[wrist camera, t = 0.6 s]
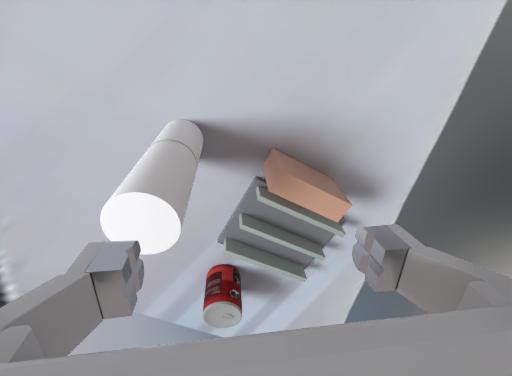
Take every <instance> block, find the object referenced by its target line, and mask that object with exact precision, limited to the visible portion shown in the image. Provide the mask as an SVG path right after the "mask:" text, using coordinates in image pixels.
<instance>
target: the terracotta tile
mask: <svg viewBox="0 0 512 376" xmlns="http://www.w3.org/2000/svg"><path fill="white" fill-rule="evenodd" d="M262 167H263V171H264V175H265V179H266V183H267V187H268V190H269V192H271V193H274V194H276V195H278V196H280V197H282V198H285V199H287V200H289V201H291V202H293V203H296V204H298V205H300V206H302V207H304V208H307V209H309V210H311V211H313V212H315V213H318V214H320V215H322V216H324V217H326V218H329V219H331V220H333V221H335V222H337V223H338V222H339V220H340V219H341V218H342V217H343V216H344V214H345V213H346V212H347V211H348V209H349V208H350V207H351V206H352V204H351V203H350V202H349V200H348V199H347V198H346V196H345V195H344V194H343V192H342V191H341V190H340V188H339V187H338V186H337V184H336V183H335V182H334V180H333V179H332V178H330V177H328V176H326V175H324V174H322V173H320V172H318V171H316V170H314V169H313V168H311V167H309V166H307V165H305V164H303V163H301V162H299V161H297V160H295V159H293V158H291V157H289V156H287V155H285V154H283V153H281V152H279V151H278V150H276V149H274V148H273V149H272V150H271V152H270V153H269V155H268V157H267V158H266V160H265V162H264V163H263V165H262Z"/></svg>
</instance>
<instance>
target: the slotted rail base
mask: <svg viewBox="0 0 512 376" xmlns="http://www.w3.org/2000/svg"><path fill="white" fill-rule="evenodd" d="M344 221H345V219H344V218H343V217H342V218H341V219H340V220H339V222H338V223H337V222H335V221H333V220H331V219H329V218H326V217H324V216H322V215H320V214H318V213H315V212H313V211H311V210H309V209H307V208H304V207H302V206H300V205H298V204H296V203H293V202H291V201H289V200H287V199H285V198H282V197H280V196H278V195H276V194H274V193H271V192H269V190H268V187H267V183H266V181H265V180H262V179H260V178H258V177H255V178H254V180H253V182H252V183H251V185H250V187H249V188H248V190H247V192H246V193H245V195H244V196H243V198H242V200H241V201H240V203H239V205H238V206H237V208H236V210H235V211H234V213H233V215H232V216H231V218H230V220H229V221H228V223H227V225H226V226H225V228H224V229H223V231H222V233H221V234H220V236H219V238H218V243H221V244H224V254H226V255H229V256H232V257H235V258H238V259H240V260H243V261H246V262H249V263H252V264H255V265H258V266H261V267H263V268H266V269H269V270H272V271H275V272H278V273H281V274H284V275H286V276H289V277H292V278H295V279H298V280H301V281H304V282H305V281H306V279H307V278H306V275H305V272H304V269H305V268H306V266H307V265H308V264H309V263H310V262H311V260H312V259H313V258H314V257H315V258H317V259H320V260H322V261H323V260H324V258H325V255H324V253H323V251H322V249H321V248H322V247H323V246H324V245H325V244H326V242H327V241H328V240H329V239H330V238H331V236H332V235H333V234H336V235H339V236H341V237H343V236H344V235H345V234H346V233H345V232H344V230H343V228H342V227H341V224H342V223H343V222H344Z"/></svg>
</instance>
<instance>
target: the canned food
mask: <svg viewBox="0 0 512 376" xmlns="http://www.w3.org/2000/svg"><path fill="white" fill-rule="evenodd" d="M241 317H242V302H241V282H240V274H239V272H238V270H237V269H236V268H234V267H233V266H230V265H224V264H223V265H217V266H214V267H213V268H211V269H210V271H209V272H208V274H207V279H206V288H205V298H204V308H203V319H204V321H205V322H206V323H207V324H208V325H210V326H212V327H216V328H227V327H231V326H234V325H236V324H237V323H238V322H239V321H240V320H241Z"/></svg>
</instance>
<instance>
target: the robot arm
mask: <svg viewBox="0 0 512 376" xmlns="http://www.w3.org/2000/svg"><path fill="white" fill-rule="evenodd" d="M355 237H356V239H357V240H358V242H357V243H356V244H355V245H354V246H353V251H352V256H353V261H354V264H355V266H356V267H357V269H358V270H359V271H361V272H363V273H364V274H365V280H366V281H367V282H368V284H369V285H370V286H371V288H372V289H373V290H374V292H377V291H391V290H396V291H397V292H398V293H400V294H401V295H403V296H404V297H406V298H407V299H409V300H410V301H412V302H413V303H415V304H416V305H418V306H419V307H421V308H422V309H424V310H425V311H427V312H428V313H430V314H425V315H417V316H408V317H400V318H391V319H381V320H373V321H364V322H355V323H347V324H337V325H329V326H320V327H312V328H303V329H295V330H286V331H278V332H269V333H260V334H252V335H243V336H235V337H226V338H218V339H210V340H200V341H192V342H184V343H174V344H166V345H157V346H149V347H141V348H132V349H123V350H114V351H106V352H97V353H88V354H79V355H71V356H67V355H68V354H70V353H71V351H73V349H75V348H76V346H77V345H79V344H80V342H82V341H83V340H84V339H85V338H86V337H87V336H88V335H89V334H90V333H91V332H92V331H93V330H94V329H95V328H96V327H97V326H98V325H99V324H100V323H101V322H102V321H103V319H109V318H116V317H124V316H131V315H132V313H133V310H134V307H135V305H136V302H137V294H136V292H138V291H139V290H140V289H141V287H142V284H143V278H144V266H143V261H142V260H141V259H140V258H139V254H140V252H141V249H140V244H139V242H138V241H137V240H134V241H109V242H91V243H89V244H87V245H86V247H85V248H84V249H83V251H82V252H81V253H80V255H79V256H78V257H77V259H76V260H75V261H74V263H73V264H72V265H71V267H70V268H69V269H68V271H67V272H66V273H65V274H64V275H58V276H56V277H55V278H53V279H51V280H49V281H48V282H46V283H44V284H42V285H41V286H39V287H37V288H35V289H33V290H32V291H30V292H28V293H26V294H25V295H23V296H21V297H19V298H18V299H16V300H14V301H12V302H10V303H9V304H7V305H5V306H3V307H2V308H0V376H512V279H511V278H509V277H507V276H504V275H502V274H499V273H496V272H494V271H491V270H488V269H486V268H483V267H480V266H478V265H475V264H473V263H470V262H468V261H465V260H462V259H460V258H457V257H454V256H452V255H449V254H446V253H444V252H441V251H438V250H436V249H433V248H431V247H425V246H424V245H422V244H421V243H420V242H419V241H418V240H416V239H415V238H414V237H412V236H411V235H410V234H409V233H408V232H406V231H405V230H404V229H402V228H401V227H400V226H398V225H396V224H392V225H383V226H371V227H359V228H358V230H357V231H356V236H355Z"/></svg>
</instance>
